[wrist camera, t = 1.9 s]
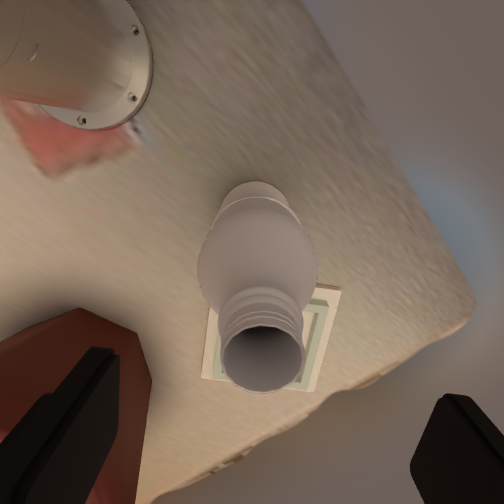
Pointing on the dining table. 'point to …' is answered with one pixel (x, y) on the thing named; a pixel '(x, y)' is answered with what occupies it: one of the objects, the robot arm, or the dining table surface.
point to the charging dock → (313, 336)
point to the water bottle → (258, 286)
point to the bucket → (54, 372)
